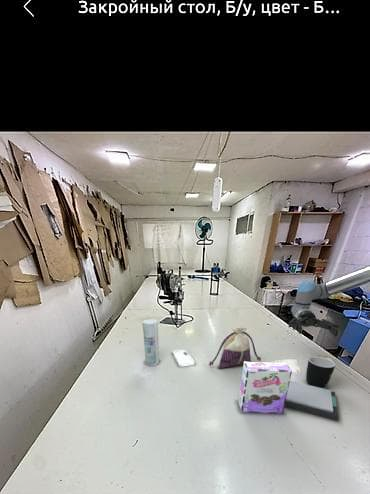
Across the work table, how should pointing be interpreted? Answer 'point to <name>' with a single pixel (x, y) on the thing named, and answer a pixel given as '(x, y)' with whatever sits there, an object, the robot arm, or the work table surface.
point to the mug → (319, 371)
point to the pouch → (235, 349)
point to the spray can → (151, 341)
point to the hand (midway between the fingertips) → (318, 332)
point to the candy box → (264, 387)
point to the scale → (312, 400)
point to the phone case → (183, 358)
